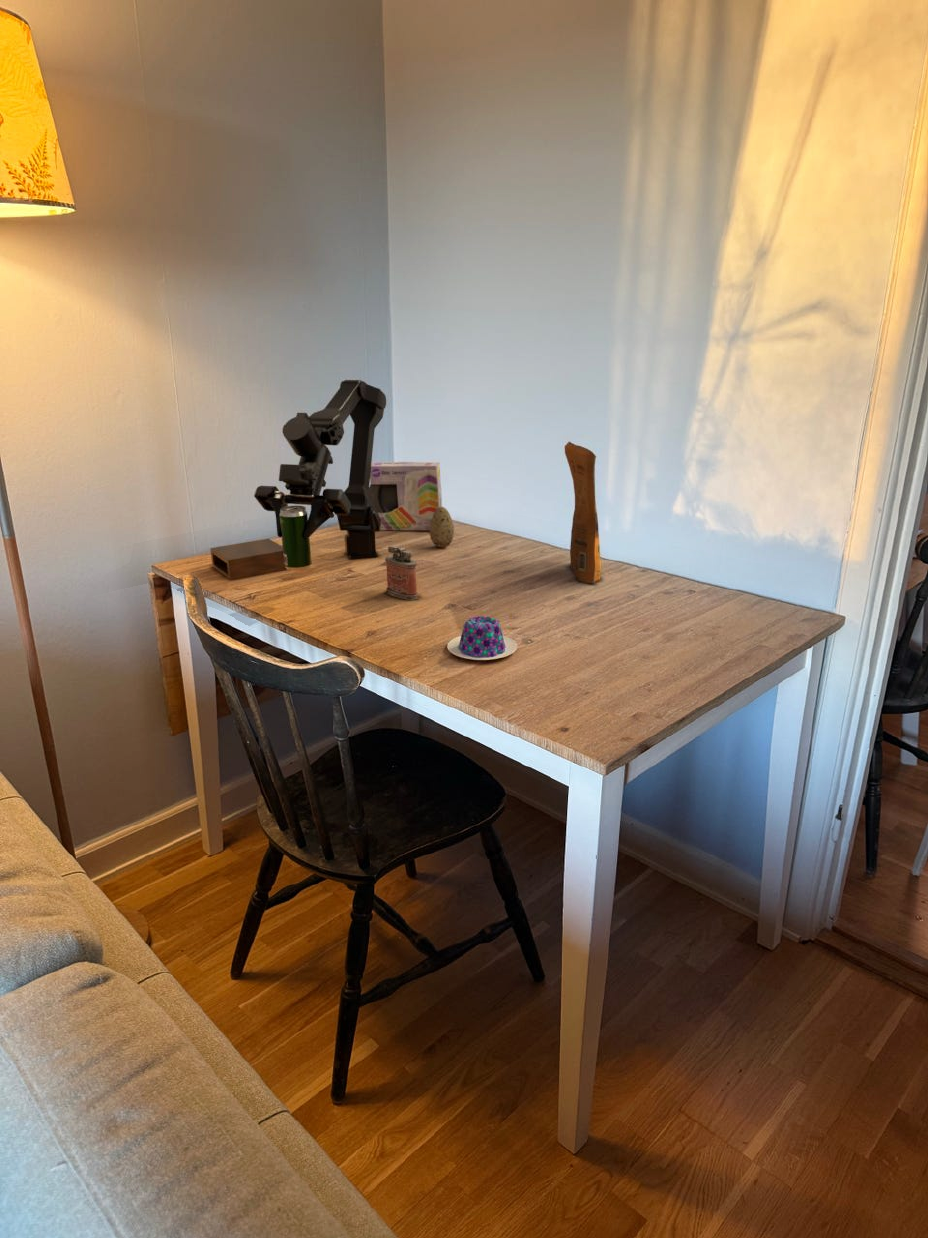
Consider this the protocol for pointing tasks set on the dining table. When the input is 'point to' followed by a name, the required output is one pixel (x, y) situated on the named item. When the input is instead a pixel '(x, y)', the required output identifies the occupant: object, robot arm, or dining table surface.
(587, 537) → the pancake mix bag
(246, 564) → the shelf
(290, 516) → the beer can
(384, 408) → the robot arm
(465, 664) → the dining table surface
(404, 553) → the lighter
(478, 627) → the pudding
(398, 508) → the cake pan box
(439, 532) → the decorative egg
